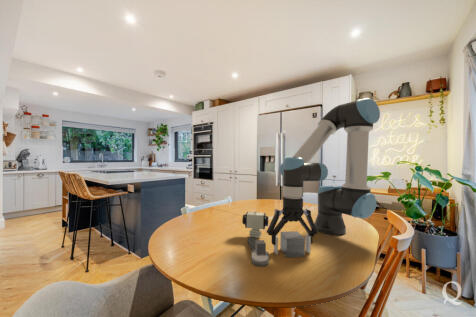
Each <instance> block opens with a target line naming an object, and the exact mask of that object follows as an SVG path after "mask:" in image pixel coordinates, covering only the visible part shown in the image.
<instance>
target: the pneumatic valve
mask: <svg viewBox="0 0 476 317" xmlns="http://www.w3.org/2000/svg"><path fill="white" fill-rule="evenodd" d="M266 214H267V213H266V212H257V210H255V211H254V212H253V211H246V212H245V214H243V215H242V221H241V222H242V224H243V225H244V227H245V228H244V229H251V230H249V232H248V233H249V237H256V239H260V237H262V230H265V229H266V227H269V216H267V215H266Z"/></svg>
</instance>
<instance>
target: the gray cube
mask: <svg viewBox="0 0 476 317" xmlns="http://www.w3.org/2000/svg"><path fill="white" fill-rule="evenodd" d="M279 243H280V246H279V248H280V249H279V250H281V252H282V254H284V256H285V258H304V257H305V255H306V237H304V236H303V235H302V234H301V233H300V232H298V231H280V242H279Z"/></svg>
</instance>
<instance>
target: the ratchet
mask: <svg viewBox="0 0 476 317" xmlns="http://www.w3.org/2000/svg"><path fill="white" fill-rule="evenodd" d="M247 244H248V247H249V249H250V251H251V263H252V265H254V266H255V267H261V268H262V267H267V266H268V265H269V263H270V253H269V251H267V248H266V247H267V246H266V244H267V243H266V241H265V239H264V240H263V239H262V240H261V239H258V238H256V237H250V236H247Z"/></svg>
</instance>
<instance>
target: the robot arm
mask: <svg viewBox="0 0 476 317" xmlns="http://www.w3.org/2000/svg"><path fill="white" fill-rule="evenodd" d="M380 111H381V110H380V108H379V106H378V103H377V102H376V101H375V100H374V99H372V98H369V97H366V98H362V99H361V98H359V99H356V100H354V101H349V102H346V103H342V104H339V105H337V106H335V107H333V108H332V109H330V110H329V111H328V112H327V113H325V115H324V116H323V117H322V118H321V119H320V120H319V122H318V125H317V126H316V129H314V130H313V132H312V133H311V134H310V136H309V137H308V138H307V139H306V140H305V141H304V143H303V144H302V145H301V146H300V147H299V149H298V150H297V151H296V152H295V153H294V155H292V156H291V157H285V158H284V159H283V162H282V163H281V164H280V167H279V173H280V175H281V176H282V177H283V178H282V180H283V184H282V185H283V188H282V192H283V194H282V195H283V197H282V209H277V208H275V209H274V213H273V214H274V215H273V217H272V219H271V221H270V224H268V228H267V230H266V234H267V235H268V236H271V244H272V245H273V253H274V254H275V255H278V254H279V250H278V249H279V248H278V247H279V237H278V236H277V235H278V234H279V233H280V232H281V231H282V229H283V228H284V226H285V225H286V224H287V223H288V222H290V223H292V222H299V224H301V226H302V228H303V229H304V230H305V231H306V234H305V252H306V253H308V254H311V251H312V250H311V249H312V247H311V245H312V244H314V241H313V240H314V237H315V235H318V233H319V232H320V233H324V234H326V235H327V234H328V235H336V236H337V235H344V234H345V235H346V233H347V228H346V224H345V221H344V218H343V214H344V215H347V216H350V217H354V218H355V219H356V218H358V219H362V220H363V219H369V218H370V217H371V216H372V215H373V214H374V212H375V210H376V207H377V198H376V195H374V193H372V192H371V188H370V186H369V185H368V163H369V162H368V160H369V138H370V137H369V135H370V132H371V131H372V130H373V129H374V124H376V123H378V121H379V120H380V118H381V117H380V116H381V112H380ZM341 129H343V130H344V131H345V132H346V133H347V134H346V135H347V136H346V138H347V139H346V159H345V163H346V164H345V179H344V180H345V182H344V184H342V185H321V186H319V187H318V191H317V215H316V218H315V221H314V219H313V218H312V214H311V213H312V212H311V210H310V209H309V208H305V209H303V208H304V199H303V197H304V182H320V181H325V180H326V179H327V178H328V175H329V169H328V166H327V165H326V164H324V163H322V162H311V160H312V159H313V158H314V156H315V155H316V154H317V153H318V152H319V150H320V149H321V148H322V146H324V144H325V143H326V142H327V141H328V139H330V138H329V137H331V135H334V134H335V133H336V132H337V131H338V130H341ZM281 215H283V216H282V217H281V219H280V216H281ZM304 215H305V218H306V220H307V222H308V224H307V223H306V222H305V220H304V219H303V216H304ZM279 219H280V220H279ZM278 221H279V222H278ZM309 226H310V227H309Z"/></svg>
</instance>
